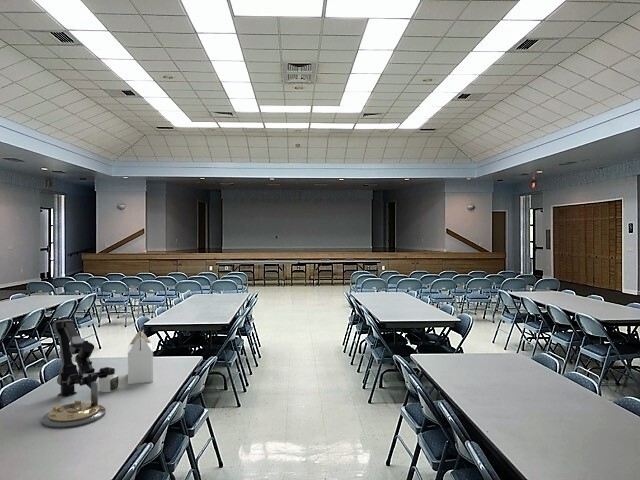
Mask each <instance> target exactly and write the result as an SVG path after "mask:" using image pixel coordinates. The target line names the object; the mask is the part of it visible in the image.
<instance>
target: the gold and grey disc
mask: <svg viewBox="0 0 640 480" xmlns="http://www.w3.org/2000/svg"><path fill="white" fill-rule="evenodd" d="M98 405H99V406H100V410H99V412H98V413H97V414H96V415H94V416H92V417H90V418H87V419H83V420H79V421H73V422H54V421H51V420H49V419H48V413H49V412H50V411H48V412H46V413H45V414H44V415H43V416H42V417H41V424H42V426H44V427H46V428H51V429H68V428H76V427H80V426H84V425H89V424H91V423H95V422H97V421H100V420H101V419H102V418H103V417H105V415H106V407H105V406H104V405H101V404H98Z"/></svg>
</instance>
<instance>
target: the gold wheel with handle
mask: <svg viewBox="0 0 640 480" xmlns="http://www.w3.org/2000/svg"><path fill="white" fill-rule="evenodd" d="M99 405H100V404H99V380H96V381H92V382H91V389H90V402H89V401H86V402H85V401H84V402H82V400H75V401H74V403H67V404H63V405H58V404H57V405H55V406H53V407H52V409H51V410H50V411H48V412H49V413H48V412H47V413H48V419H49V420H51V421H54V422H73V421H79V420H83V419H87V418H90V417H92V416H94V415H96V414H97V413H98V412H99V410H100V406H99Z"/></svg>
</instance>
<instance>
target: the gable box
mask: <svg viewBox="0 0 640 480" xmlns="http://www.w3.org/2000/svg"><path fill="white" fill-rule="evenodd" d="M144 332H145V330H144V328H143V329H142V327H139V331H138V332H137V333H136V334H135V336H134V337H133V339H132V340H131V342H130V343H129V344H128V348H127V385H134V384H145V383H153V382H154V349H153V343H152V342H151V341H150V339H149V337H147V334H145V333H144Z"/></svg>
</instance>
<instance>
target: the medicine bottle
mask: <svg viewBox="0 0 640 480" xmlns="http://www.w3.org/2000/svg"><path fill="white" fill-rule="evenodd" d="M107 367H108V368H109V369H110V372H109V374H108V376H107V377H106V378H101V379H100V378H98V393H99V392H103V393H112V392H114V391H116V390H118V389H119V375H117V374H116V368H115V367H113V366H107Z"/></svg>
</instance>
